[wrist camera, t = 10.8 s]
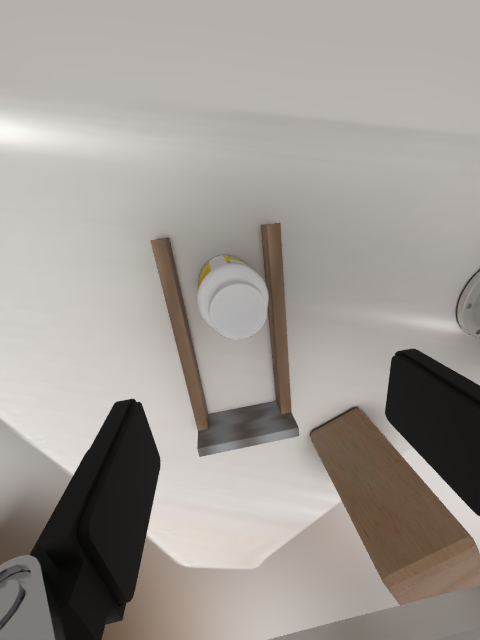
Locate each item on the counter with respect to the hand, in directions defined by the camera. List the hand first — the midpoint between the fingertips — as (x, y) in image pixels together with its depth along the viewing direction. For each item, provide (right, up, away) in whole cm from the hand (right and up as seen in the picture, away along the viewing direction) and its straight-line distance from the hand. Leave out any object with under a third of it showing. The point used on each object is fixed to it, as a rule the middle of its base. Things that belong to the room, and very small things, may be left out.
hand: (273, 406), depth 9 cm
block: (+17, -18, +35) cm, 42 cm away
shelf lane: (-2, +1, +25) cm, 25 cm away
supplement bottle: (-3, +8, +22) cm, 24 cm away
